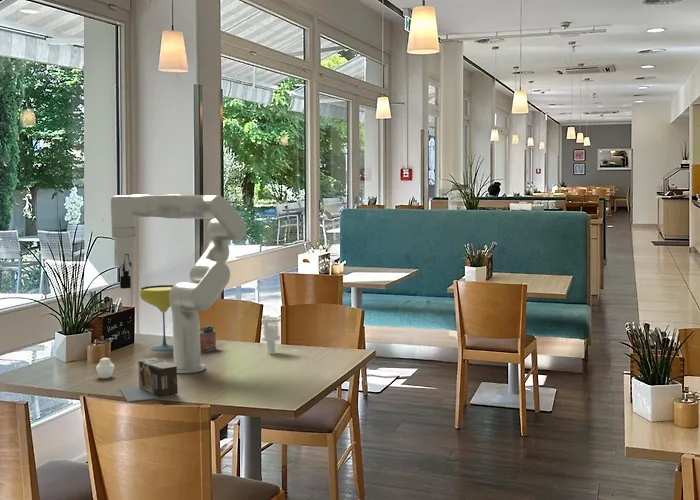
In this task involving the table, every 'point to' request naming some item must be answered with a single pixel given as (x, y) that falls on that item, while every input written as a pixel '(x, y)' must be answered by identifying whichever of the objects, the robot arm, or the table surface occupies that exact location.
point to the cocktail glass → (158, 306)
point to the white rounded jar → (105, 368)
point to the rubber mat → (139, 394)
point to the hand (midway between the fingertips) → (125, 287)
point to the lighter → (207, 339)
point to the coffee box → (157, 377)
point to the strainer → (270, 332)
